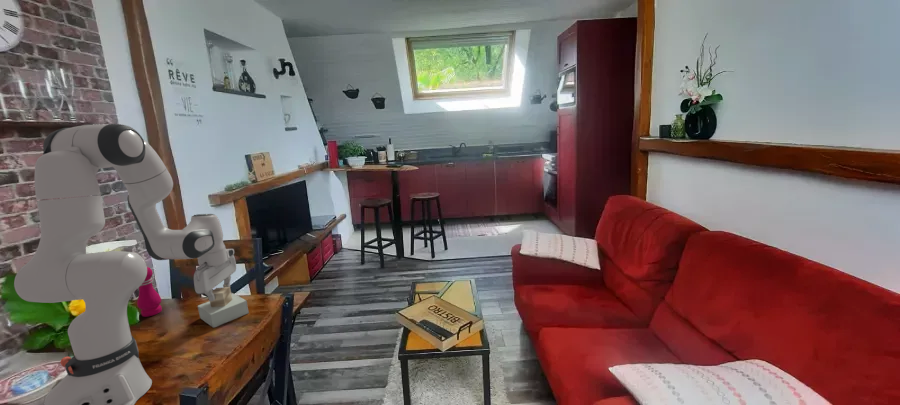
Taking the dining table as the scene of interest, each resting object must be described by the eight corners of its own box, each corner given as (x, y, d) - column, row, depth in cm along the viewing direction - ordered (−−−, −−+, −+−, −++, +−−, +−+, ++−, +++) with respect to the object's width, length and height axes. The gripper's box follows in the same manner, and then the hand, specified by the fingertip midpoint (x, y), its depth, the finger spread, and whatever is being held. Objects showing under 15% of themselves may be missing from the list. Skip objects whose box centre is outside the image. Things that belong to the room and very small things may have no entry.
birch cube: (225, 306, 138) (222, 293, 137) (211, 306, 138) (208, 294, 137) (232, 299, 143) (230, 287, 142) (218, 300, 143) (216, 287, 142)
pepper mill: (154, 317, 144) (141, 266, 140) (135, 318, 144) (122, 267, 140) (168, 307, 151) (156, 259, 147) (150, 308, 151) (138, 260, 147)
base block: (213, 327, 133) (210, 314, 132) (200, 318, 141) (197, 305, 140) (248, 313, 142) (246, 300, 141) (234, 304, 150) (232, 292, 149)
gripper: (204, 268, 127) (212, 307, 130) (236, 247, 146) (242, 281, 149) (184, 269, 126) (193, 308, 129) (219, 248, 146) (226, 282, 149)
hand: (220, 293), depth 140 cm, fingers open, 8 cm apart
